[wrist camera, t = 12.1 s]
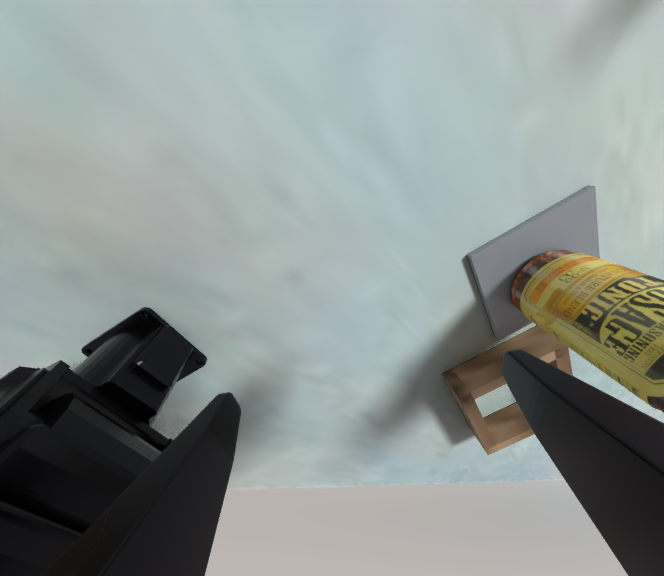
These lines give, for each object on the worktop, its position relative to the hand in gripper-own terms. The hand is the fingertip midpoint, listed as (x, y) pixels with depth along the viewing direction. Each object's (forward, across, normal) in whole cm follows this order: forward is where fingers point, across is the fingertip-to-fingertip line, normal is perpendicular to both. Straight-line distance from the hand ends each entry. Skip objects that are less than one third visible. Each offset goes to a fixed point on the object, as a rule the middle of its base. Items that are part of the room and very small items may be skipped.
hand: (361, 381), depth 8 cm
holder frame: (+13, -14, +19) cm, 27 cm away
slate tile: (+14, -16, +6) cm, 22 cm away
